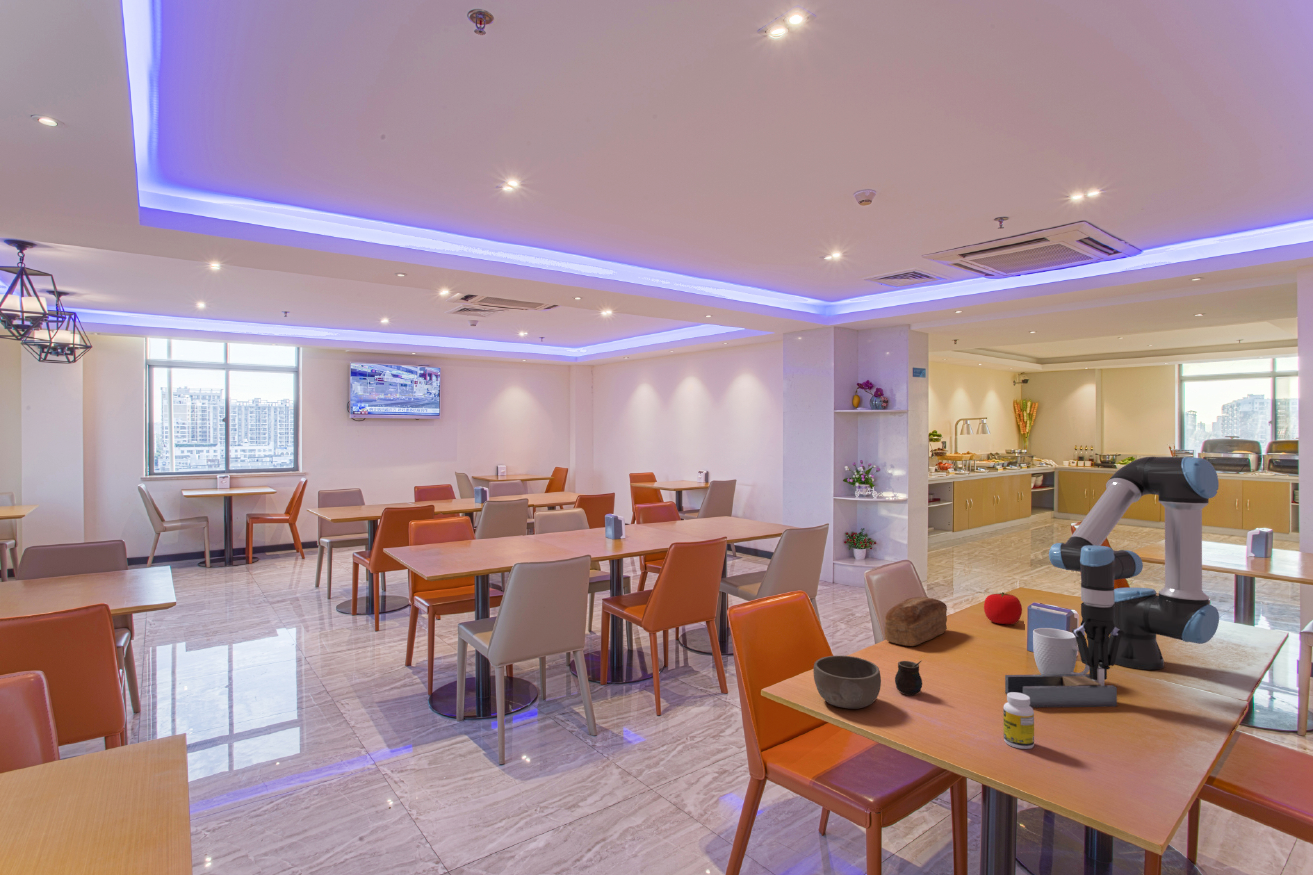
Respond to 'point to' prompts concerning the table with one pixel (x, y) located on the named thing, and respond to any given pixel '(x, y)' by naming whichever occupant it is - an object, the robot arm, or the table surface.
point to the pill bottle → (1018, 721)
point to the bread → (915, 621)
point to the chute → (1060, 691)
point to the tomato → (1003, 608)
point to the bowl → (847, 681)
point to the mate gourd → (908, 678)
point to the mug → (1055, 651)
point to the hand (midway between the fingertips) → (1098, 691)
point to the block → (1078, 681)
